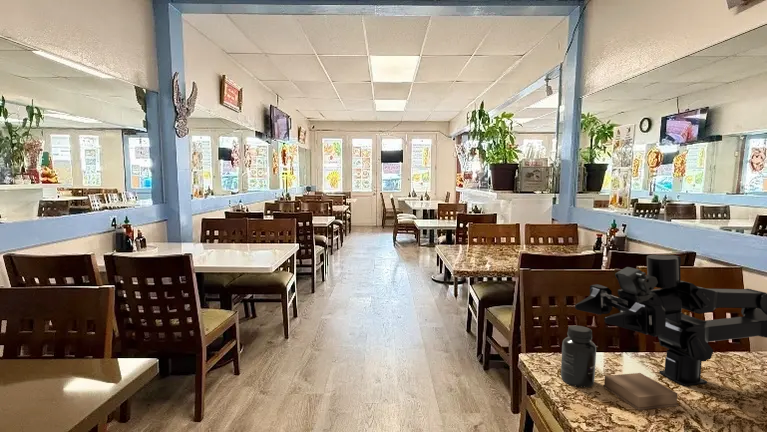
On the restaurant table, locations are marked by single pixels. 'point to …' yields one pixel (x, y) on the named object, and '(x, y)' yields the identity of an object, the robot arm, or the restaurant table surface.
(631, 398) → the walnut base
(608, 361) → the restaurant table surface
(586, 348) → the supplement bottle
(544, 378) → the restaurant table surface
